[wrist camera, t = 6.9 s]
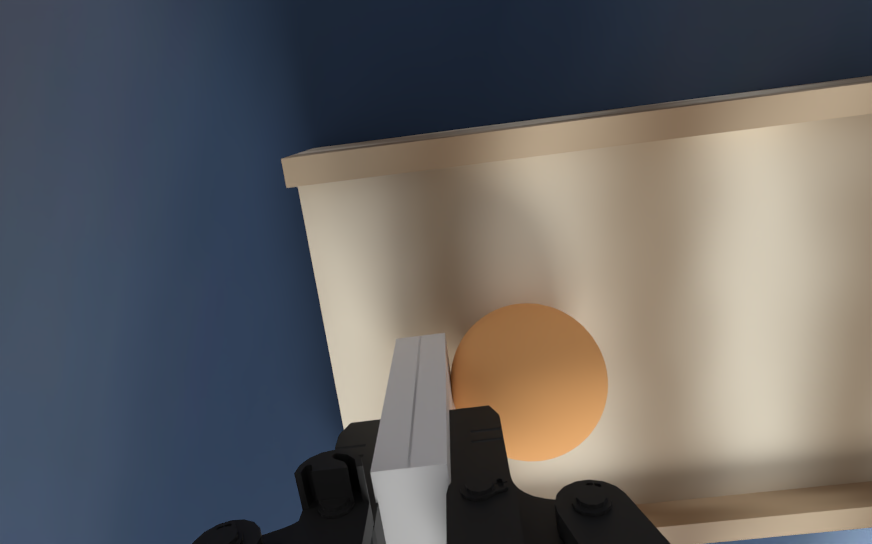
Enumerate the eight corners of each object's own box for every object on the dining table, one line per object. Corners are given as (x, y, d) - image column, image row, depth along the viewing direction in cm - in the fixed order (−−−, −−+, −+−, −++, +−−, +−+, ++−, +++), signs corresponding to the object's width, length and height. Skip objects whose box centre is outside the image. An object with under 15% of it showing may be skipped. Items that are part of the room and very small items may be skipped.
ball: (430, 460, 18) (554, 517, 14) (408, 321, 16) (537, 350, 13) (520, 400, 20) (641, 436, 17) (507, 278, 19) (633, 293, 16)
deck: (375, 496, 24) (362, 576, 20) (313, 148, 20) (281, 158, 16) (881, 445, 23) (974, 517, 19) (914, 70, 19) (1038, 60, 15)
